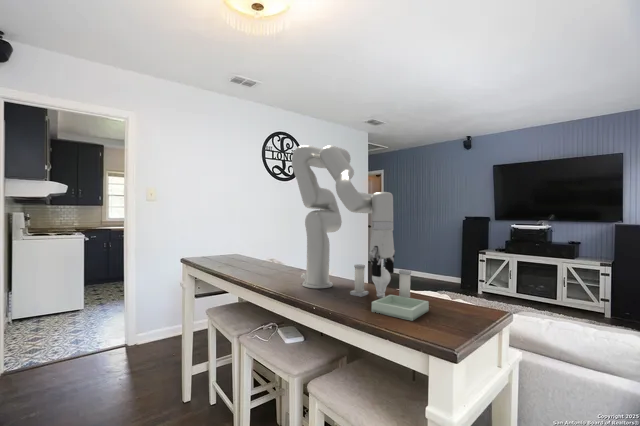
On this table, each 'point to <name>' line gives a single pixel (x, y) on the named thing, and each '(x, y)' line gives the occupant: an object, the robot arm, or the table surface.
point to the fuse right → (404, 283)
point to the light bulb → (381, 282)
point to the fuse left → (359, 281)
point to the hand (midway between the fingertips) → (383, 274)
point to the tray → (400, 307)
